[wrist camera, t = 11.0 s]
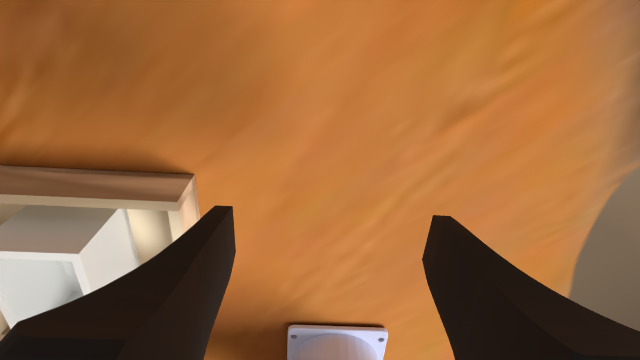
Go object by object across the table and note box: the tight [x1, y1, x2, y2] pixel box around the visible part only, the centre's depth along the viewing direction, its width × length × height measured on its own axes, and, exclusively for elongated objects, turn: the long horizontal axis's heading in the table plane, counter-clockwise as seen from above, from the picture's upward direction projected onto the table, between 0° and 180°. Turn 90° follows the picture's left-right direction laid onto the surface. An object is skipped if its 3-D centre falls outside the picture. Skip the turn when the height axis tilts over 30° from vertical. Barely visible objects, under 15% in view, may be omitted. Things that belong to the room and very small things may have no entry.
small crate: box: [0, 205, 140, 329], centre depth 22 cm, size 8×5×5 cm
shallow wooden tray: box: [0, 165, 200, 340], centre depth 24 cm, size 12×14×3 cm
